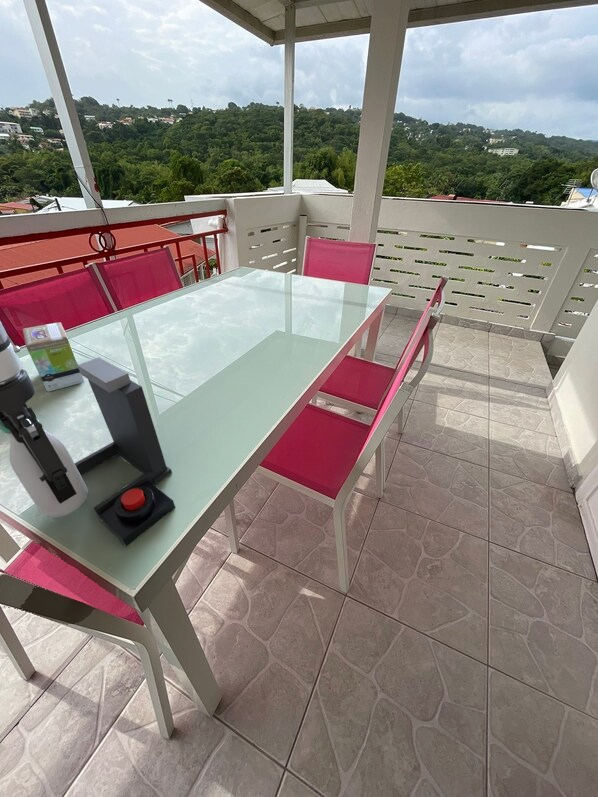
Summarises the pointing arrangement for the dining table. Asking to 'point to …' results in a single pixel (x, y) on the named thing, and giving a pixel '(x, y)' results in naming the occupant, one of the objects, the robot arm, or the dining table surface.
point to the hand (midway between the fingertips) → (56, 486)
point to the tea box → (52, 356)
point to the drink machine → (123, 427)
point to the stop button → (133, 499)
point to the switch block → (137, 514)
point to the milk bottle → (31, 473)
